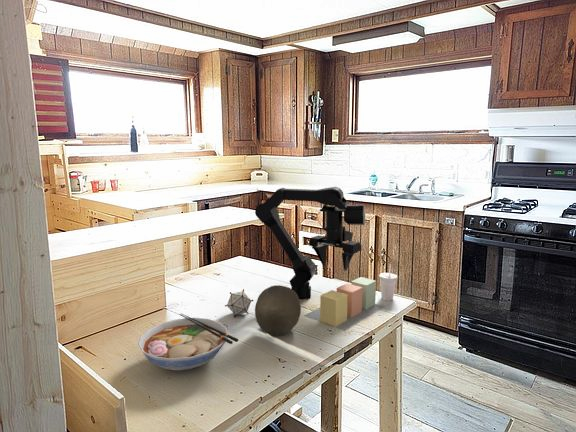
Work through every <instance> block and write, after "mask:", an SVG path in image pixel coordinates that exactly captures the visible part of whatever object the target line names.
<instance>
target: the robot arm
mask: <svg viewBox="0 0 576 432" xmlns="http://www.w3.org/2000/svg"><path fill="white" fill-rule="evenodd" d="M284 201H299V202H300V201H301V202H315V203H319V204H322V205H323V206H322V208H320V209H319V212H322V213H324V212H325V227H323V231H325V236H324V235H319V234H318V235H315V236H311V237H310V238H309V240H308V246H309V247H311V249H313V251H314V252H315V253H316V255H317V257H318V259H319V260H320V263H321V265H322V266H323V267H326V264H327V248H328V246H329V247H332V248H333V247H335V248H340V249H342V251H343V252H341V258H342V266H343V270H344V271H348V269H349V265H350V263H351V260H352V258H353V256H354V255H355V254H357V253H358V252H362V249H363V248H362V247H363V245H362V243H361V242H360V241H354V240H353V236H354V232H352V231H349V230H346V226H344V223H346V225H350V226H365V223H366V212H365V205H364V204H350V203H349V202H348V200H347V199H346V198H345V196H344V192H343V190H342V189H341V188H340V187H339V186H338V187H337V186H332V187H325V188H320V189H307V188H306V189H303V188H302V189H301V188H285V187H280V188H278V189H276V191H275V192H274V193H273V194H272V195H270V196H269V198H267V199H266V200H265V201H264V202H261V203H260V204H257V205H256V207H255V211H254V214H255V216H256V217H257V218H258V220H259V221H260V222H261V223H263V225H265V226H266V227H267V228H269V229H270V231H271V233H272V234H273V235H274V237H275V238H276V240H277V242H278V243H279V245H280V246H281V248H282V249H283V251H284V252H285V254H286V256H287V257H288V259H289V260H290V262H291V265H292V267H291V268H292V271H293V273H294V275H293V276H292V278H290V280H289V284H290V286H291V287H290V288H291V289H292V290H294V291H295V293H296V294H297V295H298V297H299V300H307V299H308V300H309V299H311V298H312V287H311V285H310V281H311V279H313V277H314V275H315V274H316V270H317V269H316V263H315V262H314V261H313V260H312V258H311V255H307V256H305V255H304V254H303V253H302V252H301V251H300V249H299V248H298V246H297V244H296V243H295V242H294V240H293V238H292V237H291V235H290V234H289V232H288V231H287V229H286V228H285V225H284V224H283V223H282V220H281V217H280V215H279V214H280V213H279V210H278V209H277V208H278V207H279V206H280V205H281V204H282V203H283V202H284Z"/></svg>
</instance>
